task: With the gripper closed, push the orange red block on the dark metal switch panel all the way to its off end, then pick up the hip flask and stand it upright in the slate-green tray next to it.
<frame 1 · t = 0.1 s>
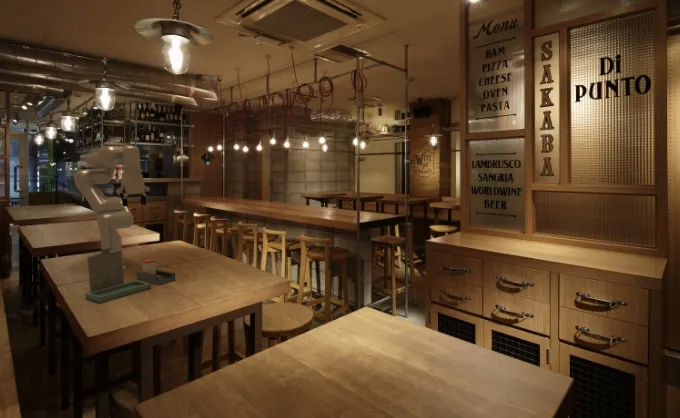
hand: (134, 205, 202), 37 cm above the table, tool pointing down, fingers open, 9 cm apart
tray: (119, 293, 179), on the table
switch panel: (155, 280, 199), on the table
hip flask: (108, 290, 183), on the table
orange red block: (149, 267, 201), point 6 cm above the table, slide at 0.0 cm
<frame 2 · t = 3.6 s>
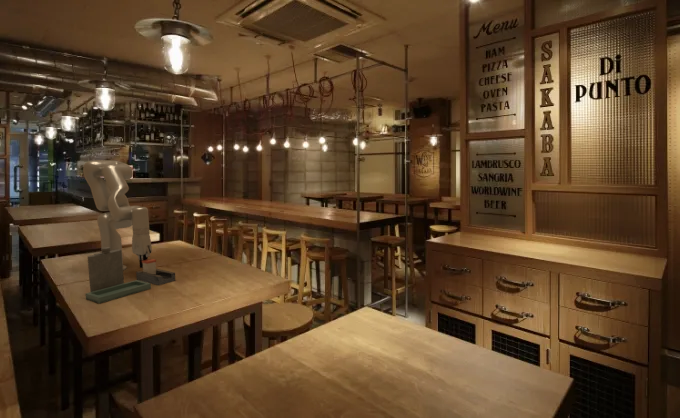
hand: (143, 267, 203), 5 cm above the table, tool pointing down, fingers closed
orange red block: (149, 267, 201), point 6 cm above the table, slide at 0.2 cm, touching gripper
everything else where it was.
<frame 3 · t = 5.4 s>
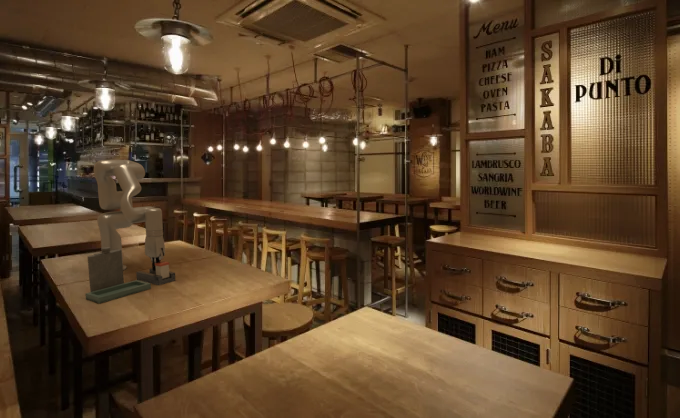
hand: (156, 269, 198), 5 cm above the table, tool pointing down, fingers closed
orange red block: (162, 270, 195), point 6 cm above the table, slide at 10.7 cm, touching gripper
everything else where it was.
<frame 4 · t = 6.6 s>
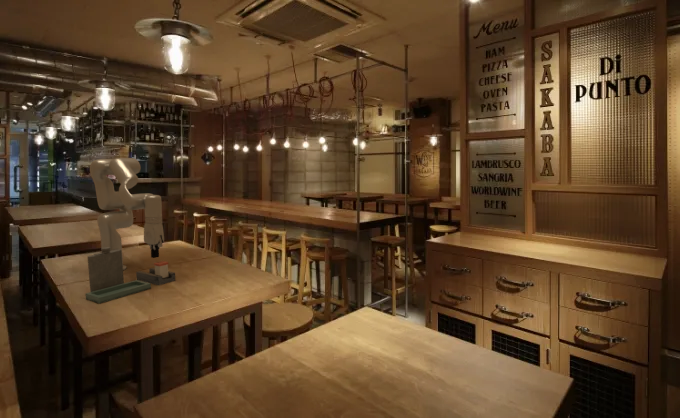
hand: (155, 257, 197), 12 cm above the table, tool pointing down, fingers closed
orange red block: (161, 269, 196), point 6 cm above the table, slide at 10.0 cm
everything else where it was.
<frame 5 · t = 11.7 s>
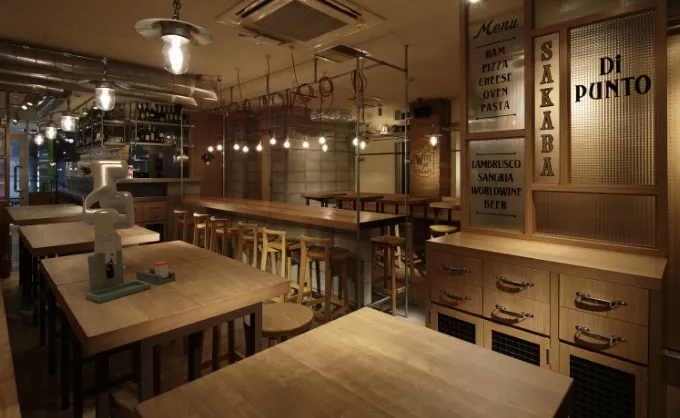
hand: (107, 276, 183), 6 cm above the table, tool pointing down, fingers closed on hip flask, 4 cm apart
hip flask: (108, 290, 183), on the table, touching gripper
everything else where it was.
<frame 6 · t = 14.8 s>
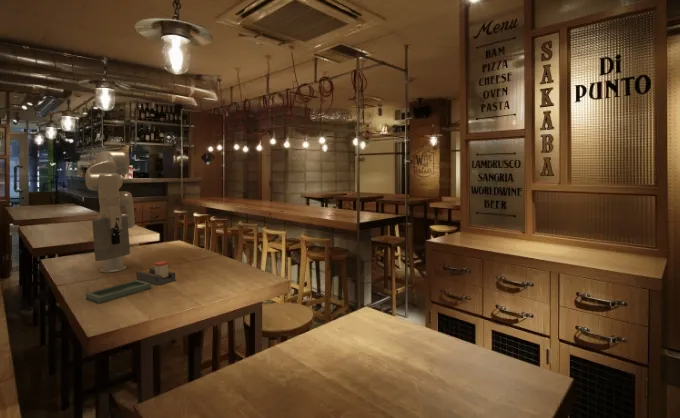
hand: (112, 243, 177), 23 cm above the table, tool pointing down, fingers closed on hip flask, 4 cm apart
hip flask: (114, 257, 178), point 16 cm above the table, touching gripper
everything else where it was.
when the fingers open (8 cm above the table, at t = 18.0 s): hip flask stays where it is, resting on tray.
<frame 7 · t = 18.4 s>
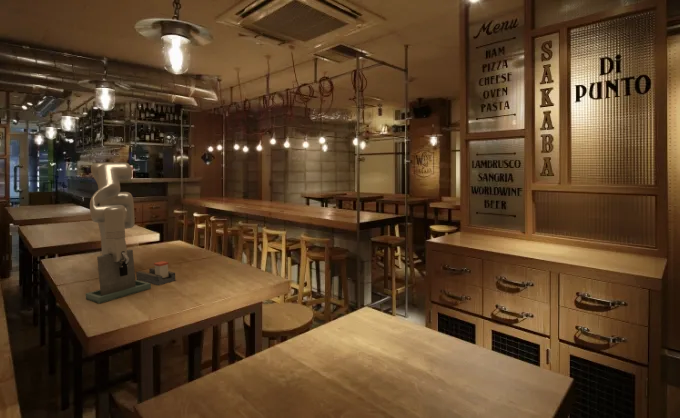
hand: (118, 274, 178), 9 cm above the table, tool pointing down, fingers open, 8 cm apart
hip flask: (119, 292, 178), point 1 cm above the table, touching tray
everything else where it was.
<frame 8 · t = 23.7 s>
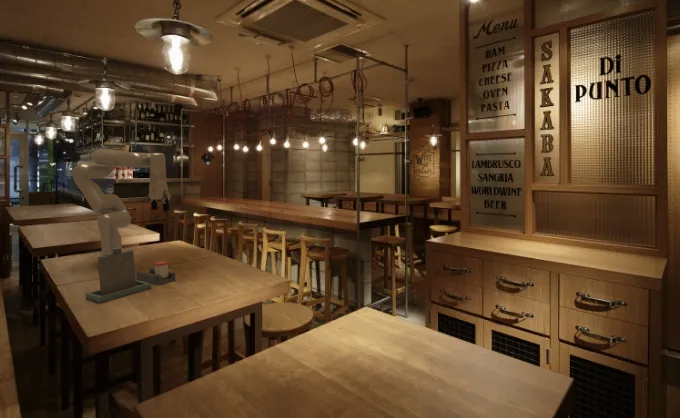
hand: (160, 210, 208), 33 cm above the table, tool pointing down, fingers open, 9 cm apart
nothing on the table moved.
at the end: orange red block slide at 10.0 cm; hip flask 0.0 cm off-centre on the tray, point 0.6 cm above the tray's base; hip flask tilted 0° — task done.
